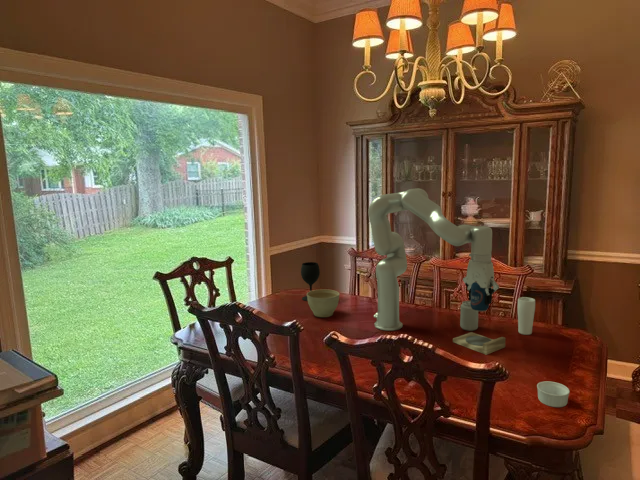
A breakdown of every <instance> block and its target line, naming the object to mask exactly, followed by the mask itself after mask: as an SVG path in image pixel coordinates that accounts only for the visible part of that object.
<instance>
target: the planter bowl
mask: <svg viewBox="0 0 640 480" xmlns="http://www.w3.org/2000/svg"><path fill="white" fill-rule="evenodd" d="M306 296H307V299H308V301H307V304H308V306H309V308H310V310H311V311H312V313H313V315H314V316H315V317H317V318H329V317H332V316H333V315H334V312H335V310H336V309H337V308H338V305H339V301H340V300H339V299H340V292H339V291H337V290H333V289H313V290H312V291H310V290H309V292H307V293H306Z"/></svg>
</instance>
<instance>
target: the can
mask: <svg viewBox="0 0 640 480" xmlns="http://www.w3.org/2000/svg"><path fill="white" fill-rule="evenodd" d="M461 303H462V304H460V314H459V316H460V317H459V318H460V319H459V321H460V322H459V323H460V324H459V325H460V328H461V329H462V330H464V331H468V332H473V331H476V330H477V329H478V328H479V311H475V310H473V309H472V308H471V300H464V301H462V302H461Z"/></svg>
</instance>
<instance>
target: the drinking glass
mask: <svg viewBox="0 0 640 480" xmlns="http://www.w3.org/2000/svg"><path fill="white" fill-rule="evenodd" d="M535 312H536V299H535V298H532V297H527V296H522V297H518V298H517V327H518V328H517V329H518V333H519V334H521V335H525V336H526V335H527V336H529V335H532V333H533V327H534V326H533V324H534V319H535V318H534V317H535Z"/></svg>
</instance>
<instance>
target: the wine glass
mask: <svg viewBox="0 0 640 480" xmlns="http://www.w3.org/2000/svg"><path fill="white" fill-rule="evenodd" d="M320 273H321V269H320V265H319V263H318V262H313V261H310V262H309V261H308V262H303V263H302V265H301V267H300V275H301V279H302V280H303V282H305V283H306V284H307V285H308V286H309V292H310V291H313V290H312V289H313V285H314V284H316V282H317V281H318V279H319V278H320V275H321V274H320ZM301 300H302V301H303V302H308V299H307V295H305V296H303V297H302V298H301Z"/></svg>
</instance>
